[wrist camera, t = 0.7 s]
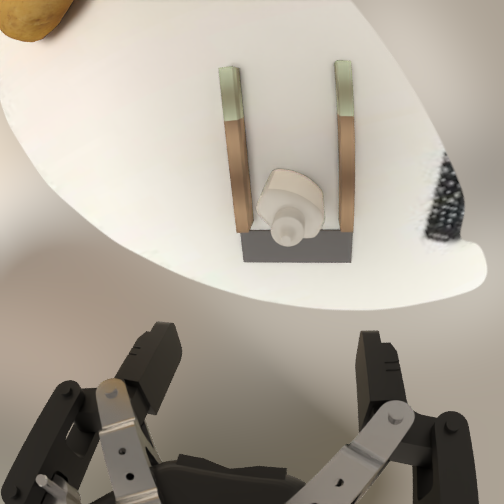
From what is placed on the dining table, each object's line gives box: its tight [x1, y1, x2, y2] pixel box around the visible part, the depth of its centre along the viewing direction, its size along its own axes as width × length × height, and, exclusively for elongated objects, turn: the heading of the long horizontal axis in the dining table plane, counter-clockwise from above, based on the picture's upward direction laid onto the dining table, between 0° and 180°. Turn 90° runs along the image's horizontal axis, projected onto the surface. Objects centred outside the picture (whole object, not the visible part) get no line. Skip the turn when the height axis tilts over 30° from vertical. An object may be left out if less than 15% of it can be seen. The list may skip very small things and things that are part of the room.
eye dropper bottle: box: [256, 169, 325, 247], centre depth 27 cm, size 4×6×12 cm
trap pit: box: [241, 230, 353, 263], centre depth 35 cm, size 4×12×1 cm, turn 95°
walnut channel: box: [219, 60, 355, 233], centre depth 29 cm, size 16×11×3 cm
